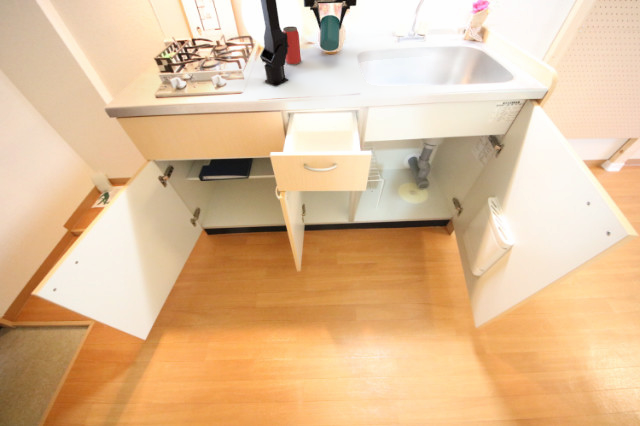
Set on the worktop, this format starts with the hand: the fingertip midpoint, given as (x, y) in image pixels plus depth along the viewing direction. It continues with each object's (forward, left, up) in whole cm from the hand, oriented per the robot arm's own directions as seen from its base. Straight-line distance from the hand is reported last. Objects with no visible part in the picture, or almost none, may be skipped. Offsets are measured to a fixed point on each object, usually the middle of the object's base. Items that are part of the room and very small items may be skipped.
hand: (330, 29), depth 92 cm
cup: (+11, +8, -12) cm, 18 cm away
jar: (-5, -3, -4) cm, 7 cm away
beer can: (-8, +14, -12) cm, 20 cm away
